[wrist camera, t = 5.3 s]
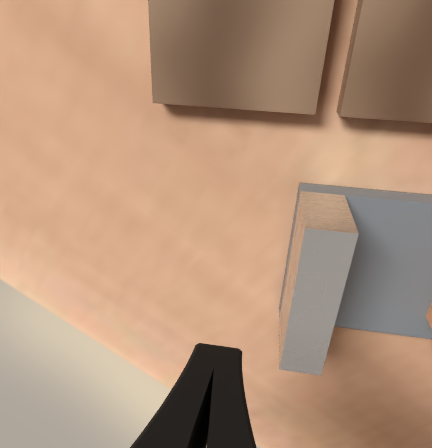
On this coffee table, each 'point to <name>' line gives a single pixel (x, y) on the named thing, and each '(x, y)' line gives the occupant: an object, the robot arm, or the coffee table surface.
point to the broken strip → (291, 56)
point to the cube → (429, 316)
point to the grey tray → (354, 269)
